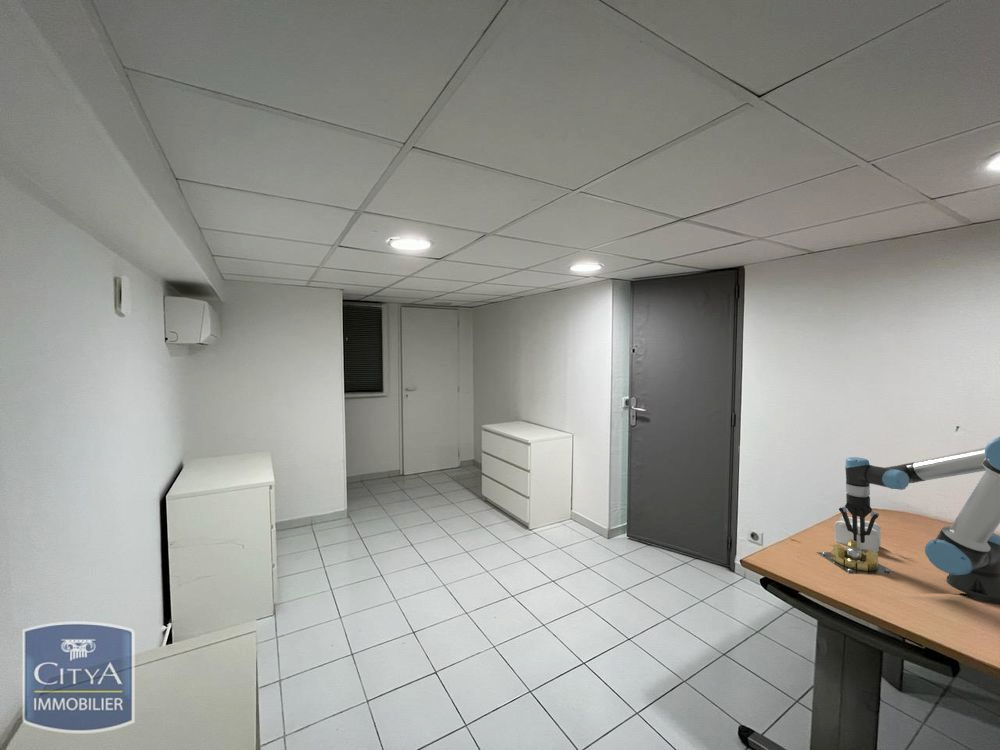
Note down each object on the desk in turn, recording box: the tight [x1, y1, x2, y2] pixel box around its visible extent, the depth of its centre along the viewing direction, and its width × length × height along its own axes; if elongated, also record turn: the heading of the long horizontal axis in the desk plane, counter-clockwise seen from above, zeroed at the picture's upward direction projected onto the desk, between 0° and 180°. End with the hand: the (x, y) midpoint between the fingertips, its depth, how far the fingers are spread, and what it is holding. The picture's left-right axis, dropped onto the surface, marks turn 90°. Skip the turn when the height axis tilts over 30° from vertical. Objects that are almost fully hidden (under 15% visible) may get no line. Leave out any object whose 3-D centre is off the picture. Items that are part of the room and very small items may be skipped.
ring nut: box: [831, 539, 879, 571], centre depth 167 cm, size 14×14×7 cm
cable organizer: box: [834, 516, 882, 553], centre depth 183 cm, size 15×11×12 cm
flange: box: [816, 547, 897, 575], centre depth 167 cm, size 18×18×7 cm
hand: (859, 549), depth 170 cm, fingers closed
